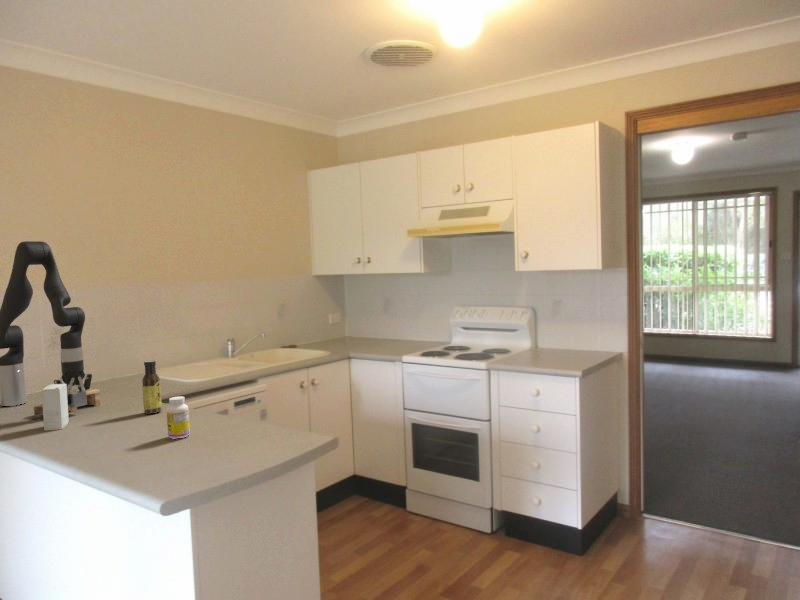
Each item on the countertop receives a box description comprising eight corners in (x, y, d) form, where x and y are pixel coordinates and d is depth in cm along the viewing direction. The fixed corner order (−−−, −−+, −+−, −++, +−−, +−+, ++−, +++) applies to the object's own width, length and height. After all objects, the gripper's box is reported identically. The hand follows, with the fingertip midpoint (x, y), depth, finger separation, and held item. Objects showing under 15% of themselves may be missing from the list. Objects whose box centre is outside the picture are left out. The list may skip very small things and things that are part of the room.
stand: (57, 409, 236) (56, 393, 235) (86, 402, 246) (85, 387, 246) (71, 412, 231) (70, 396, 230) (100, 405, 241) (99, 389, 240)
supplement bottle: (168, 435, 193) (166, 397, 192) (189, 432, 195) (187, 394, 194) (168, 441, 186) (165, 401, 186) (190, 438, 189) (187, 398, 188)
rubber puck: (30, 419, 222) (30, 415, 222) (41, 417, 225) (41, 413, 225) (35, 421, 220) (35, 417, 220) (47, 418, 223) (46, 414, 223)
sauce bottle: (162, 413, 223) (159, 361, 222) (144, 415, 220) (141, 363, 219) (161, 409, 229) (158, 359, 228) (143, 412, 226) (140, 360, 225)
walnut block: (34, 417, 225) (33, 406, 225) (43, 414, 229) (42, 404, 229) (43, 417, 224) (42, 406, 224) (51, 414, 228) (51, 404, 228)
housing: (63, 404, 227) (62, 392, 227) (75, 402, 231) (74, 389, 231) (74, 407, 223) (73, 394, 223) (87, 404, 227) (86, 391, 227)
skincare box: (51, 425, 212) (48, 384, 211) (70, 423, 213) (67, 382, 213) (43, 431, 204) (40, 389, 203) (62, 429, 205) (59, 387, 204)
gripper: (84, 355, 234) (87, 398, 235) (47, 361, 222) (50, 406, 223) (95, 357, 230) (98, 400, 231) (58, 363, 218) (61, 408, 219)
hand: (74, 402), depth 227 cm, fingers closed on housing, 4 cm apart
